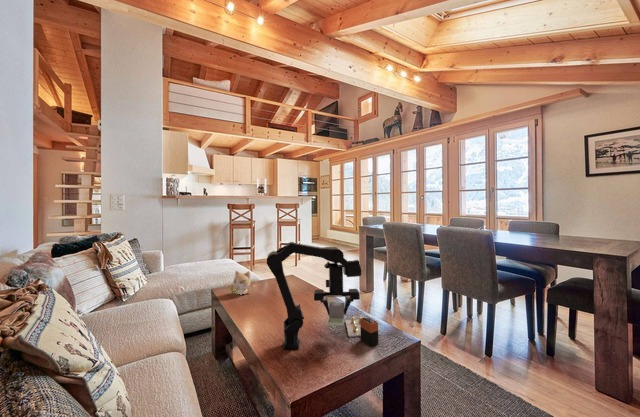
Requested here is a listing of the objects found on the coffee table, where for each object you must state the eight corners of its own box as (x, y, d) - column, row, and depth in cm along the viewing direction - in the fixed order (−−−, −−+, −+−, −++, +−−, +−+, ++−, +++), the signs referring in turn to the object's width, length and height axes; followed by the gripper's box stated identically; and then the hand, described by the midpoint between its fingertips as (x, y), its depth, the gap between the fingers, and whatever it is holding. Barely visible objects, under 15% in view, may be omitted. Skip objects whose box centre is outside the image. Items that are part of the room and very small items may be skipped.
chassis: (371, 336, 115) (371, 328, 115) (348, 336, 115) (348, 328, 115) (366, 321, 129) (366, 314, 129) (345, 322, 129) (345, 314, 129)
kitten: (226, 296, 169) (226, 272, 169) (236, 290, 179) (235, 268, 179) (247, 297, 165) (246, 273, 165) (256, 292, 175) (255, 269, 174)
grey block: (343, 325, 105) (342, 310, 105) (328, 324, 106) (327, 309, 106) (345, 312, 117) (344, 299, 117) (331, 312, 118) (331, 298, 118)
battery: (368, 337, 114) (367, 314, 114) (379, 344, 108) (378, 320, 108) (360, 339, 112) (359, 316, 112) (370, 347, 106) (370, 322, 106)
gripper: (355, 272, 119) (356, 306, 120) (314, 273, 119) (315, 307, 120) (359, 279, 108) (360, 317, 109) (313, 280, 108) (314, 318, 109)
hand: (336, 314), depth 112 cm, fingers closed on grey block, 6 cm apart
